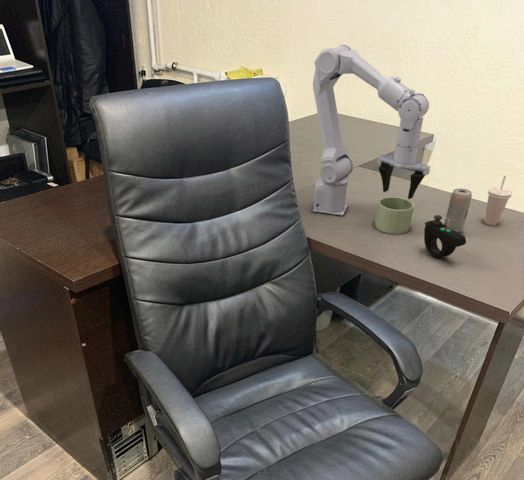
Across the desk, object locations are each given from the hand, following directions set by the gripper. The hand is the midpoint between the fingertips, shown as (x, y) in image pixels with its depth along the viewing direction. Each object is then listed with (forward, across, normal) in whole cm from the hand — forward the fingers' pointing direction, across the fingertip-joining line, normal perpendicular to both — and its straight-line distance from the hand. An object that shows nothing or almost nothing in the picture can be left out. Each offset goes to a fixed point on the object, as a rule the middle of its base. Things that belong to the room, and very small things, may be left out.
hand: (397, 194), depth 148 cm
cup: (+10, 0, 0) cm, 10 cm away
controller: (+10, +18, -9) cm, 23 cm away
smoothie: (+10, +22, +22) cm, 32 cm away
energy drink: (+10, +15, +8) cm, 20 cm away
